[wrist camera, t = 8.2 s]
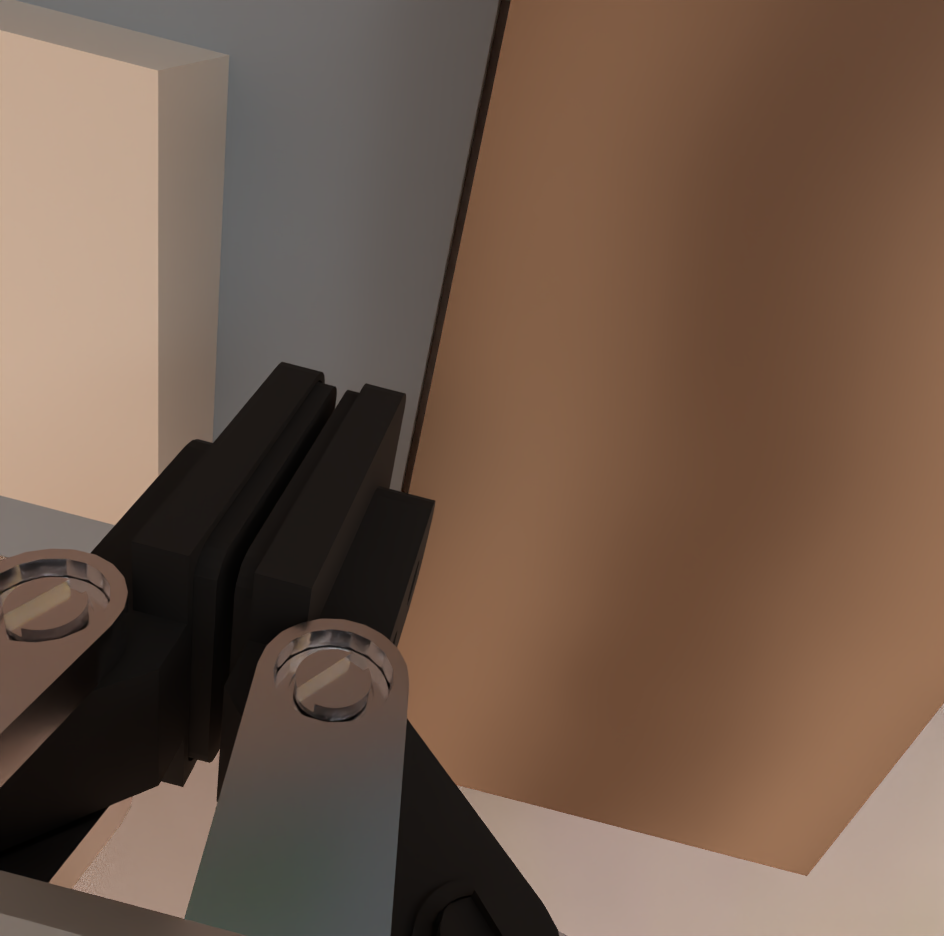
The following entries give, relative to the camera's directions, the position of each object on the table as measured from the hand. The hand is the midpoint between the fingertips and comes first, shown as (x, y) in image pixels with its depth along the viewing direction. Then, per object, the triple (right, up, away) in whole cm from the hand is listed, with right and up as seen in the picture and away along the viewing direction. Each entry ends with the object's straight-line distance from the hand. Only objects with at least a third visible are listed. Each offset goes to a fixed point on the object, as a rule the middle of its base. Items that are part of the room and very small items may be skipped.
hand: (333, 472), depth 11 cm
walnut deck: (+6, +1, +4) cm, 7 cm away
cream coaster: (-7, +4, +3) cm, 8 cm away
